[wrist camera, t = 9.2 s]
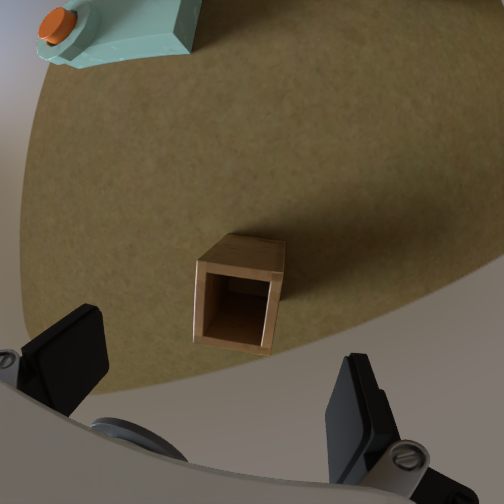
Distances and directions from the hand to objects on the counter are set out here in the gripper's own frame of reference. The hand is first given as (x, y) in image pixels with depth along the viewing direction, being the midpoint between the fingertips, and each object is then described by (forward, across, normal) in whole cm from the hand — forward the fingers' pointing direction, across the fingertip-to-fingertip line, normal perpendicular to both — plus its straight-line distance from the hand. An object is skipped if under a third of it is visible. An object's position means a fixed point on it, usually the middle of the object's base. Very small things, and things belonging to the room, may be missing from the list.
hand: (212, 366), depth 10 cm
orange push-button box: (+14, +13, -22) cm, 30 cm away
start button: (+8, +17, -19) cm, 27 cm away
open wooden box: (+14, 0, 0) cm, 14 cm away
